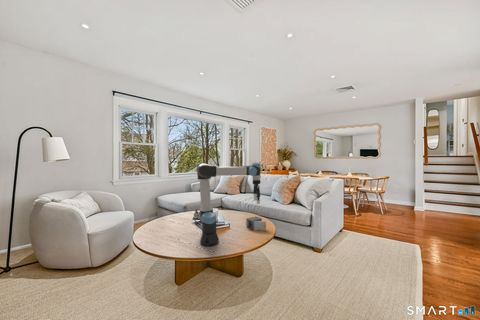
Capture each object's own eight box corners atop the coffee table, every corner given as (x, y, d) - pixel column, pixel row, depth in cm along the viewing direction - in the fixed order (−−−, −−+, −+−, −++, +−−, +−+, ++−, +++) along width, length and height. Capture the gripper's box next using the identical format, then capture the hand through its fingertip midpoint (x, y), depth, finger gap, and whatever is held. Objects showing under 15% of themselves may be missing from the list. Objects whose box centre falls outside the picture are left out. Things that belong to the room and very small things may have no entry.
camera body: (250, 230, 197) (250, 220, 197) (244, 228, 204) (244, 218, 204) (261, 227, 205) (261, 217, 205) (255, 225, 213) (255, 215, 212)
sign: (212, 224, 227) (217, 206, 227) (212, 225, 224) (217, 207, 223) (192, 218, 225) (198, 201, 225) (192, 219, 222) (197, 201, 222)
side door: (252, 230, 197) (252, 222, 196) (252, 230, 198) (252, 221, 198) (266, 230, 197) (266, 221, 197) (265, 229, 199) (265, 221, 199)
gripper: (263, 181, 186) (263, 205, 187) (257, 178, 210) (257, 199, 211) (255, 181, 185) (255, 205, 186) (250, 178, 209) (250, 199, 210)
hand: (256, 202), depth 198 cm, fingers open, 13 cm apart
